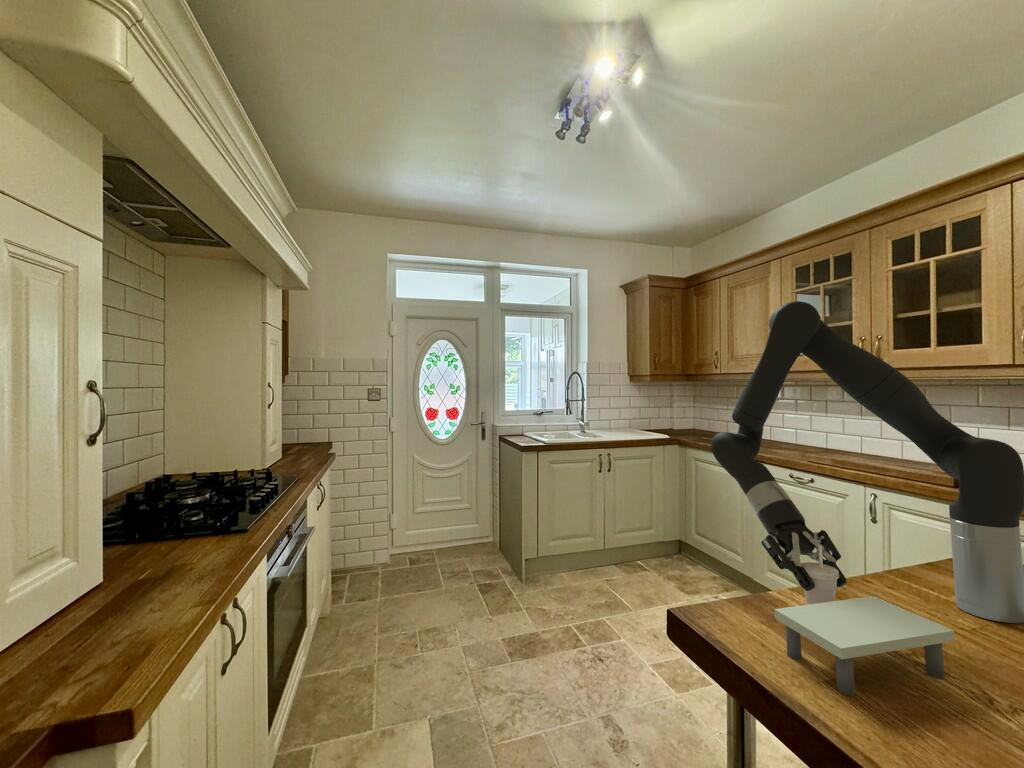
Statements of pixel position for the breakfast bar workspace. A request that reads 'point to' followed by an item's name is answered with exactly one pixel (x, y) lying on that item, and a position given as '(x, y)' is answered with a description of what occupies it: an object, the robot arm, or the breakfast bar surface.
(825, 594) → the smoothie
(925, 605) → the breakfast bar surface
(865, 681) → the breakfast bar surface
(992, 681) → the breakfast bar surface
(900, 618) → the small table
